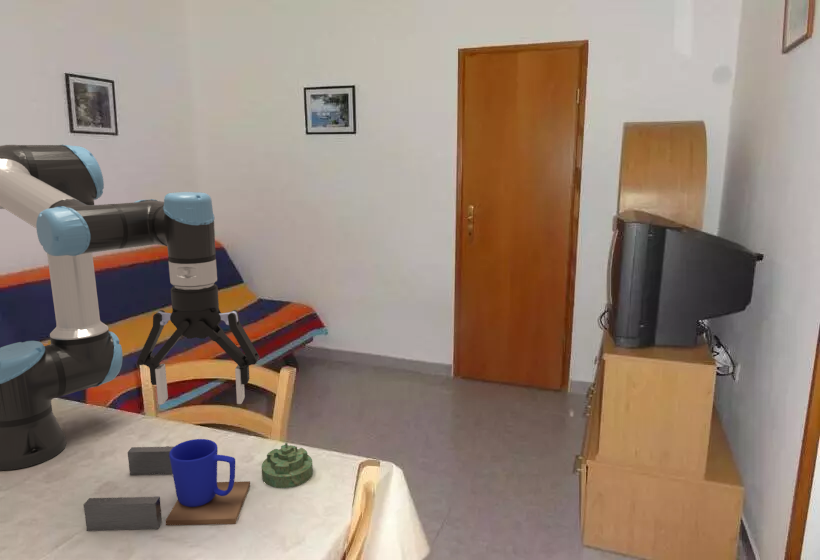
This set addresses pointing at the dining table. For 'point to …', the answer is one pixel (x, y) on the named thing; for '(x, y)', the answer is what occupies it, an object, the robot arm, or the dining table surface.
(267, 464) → the decorative artifact
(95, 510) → the vise jaws
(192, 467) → the mug
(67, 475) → the dining table surface
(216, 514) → the walnut board
